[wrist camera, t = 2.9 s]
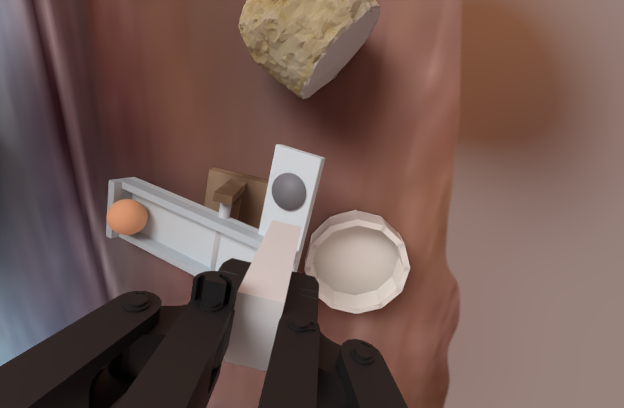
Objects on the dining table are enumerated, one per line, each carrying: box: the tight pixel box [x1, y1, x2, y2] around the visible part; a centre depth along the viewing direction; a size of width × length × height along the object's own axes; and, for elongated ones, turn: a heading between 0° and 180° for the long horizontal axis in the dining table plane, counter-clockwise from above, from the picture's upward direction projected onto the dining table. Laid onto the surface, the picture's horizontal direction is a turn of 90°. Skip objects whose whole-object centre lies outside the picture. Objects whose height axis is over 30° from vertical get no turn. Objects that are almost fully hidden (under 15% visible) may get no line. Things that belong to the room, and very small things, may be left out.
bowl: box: [304, 210, 410, 314], centre depth 35 cm, size 10×10×3 cm
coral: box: [239, 0, 380, 99], centre depth 26 cm, size 10×10×10 cm
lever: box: [106, 144, 325, 276], centre depth 30 cm, size 20×15×3 cm
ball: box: [106, 199, 148, 235], centre depth 32 cm, size 4×4×4 cm
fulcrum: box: [204, 167, 269, 229], centre depth 33 cm, size 6×12×6 cm, turn 167°
